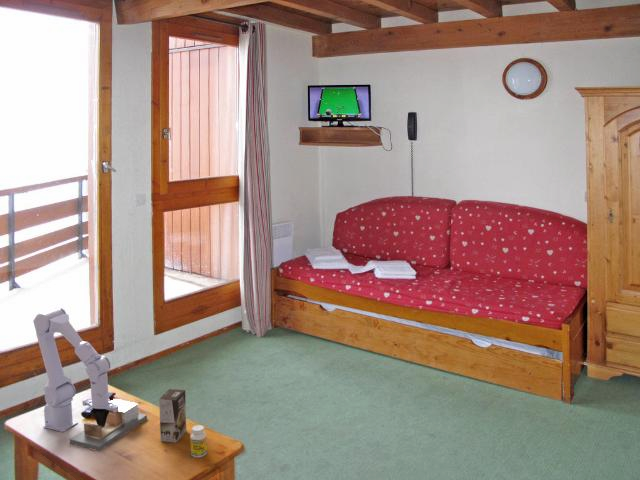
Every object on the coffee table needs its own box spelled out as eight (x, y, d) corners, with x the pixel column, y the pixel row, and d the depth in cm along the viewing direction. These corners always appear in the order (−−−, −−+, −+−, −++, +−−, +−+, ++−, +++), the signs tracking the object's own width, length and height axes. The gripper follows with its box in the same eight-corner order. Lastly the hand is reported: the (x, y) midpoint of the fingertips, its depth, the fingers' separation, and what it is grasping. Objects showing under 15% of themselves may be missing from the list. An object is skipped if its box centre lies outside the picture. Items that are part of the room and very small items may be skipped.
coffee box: (177, 443, 229) (175, 400, 226) (159, 441, 230) (158, 398, 227) (187, 431, 238) (186, 389, 235) (170, 429, 239) (169, 388, 236)
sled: (84, 435, 230) (83, 423, 229) (114, 416, 244) (113, 405, 244) (100, 439, 228) (99, 427, 227) (129, 420, 242) (128, 409, 241)
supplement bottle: (206, 449, 225) (205, 423, 224) (207, 457, 220) (206, 430, 218) (190, 450, 224) (189, 425, 222) (191, 458, 219) (190, 432, 217)
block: (106, 422, 239) (106, 412, 238) (115, 417, 243) (115, 407, 243) (116, 425, 237) (116, 414, 236) (125, 419, 242) (125, 409, 241)
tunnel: (102, 421, 241) (101, 406, 240) (115, 413, 248) (114, 398, 247) (125, 426, 237) (124, 412, 236) (138, 418, 244) (137, 403, 243)
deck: (70, 443, 228) (69, 439, 228) (119, 412, 252) (119, 408, 251) (99, 451, 223) (99, 446, 223) (147, 418, 247) (146, 415, 247)
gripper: (123, 390, 231) (125, 425, 234) (91, 383, 237) (93, 418, 239) (110, 398, 225) (112, 434, 228) (77, 391, 230) (79, 426, 233)
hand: (101, 426), depth 233 cm, fingers closed
